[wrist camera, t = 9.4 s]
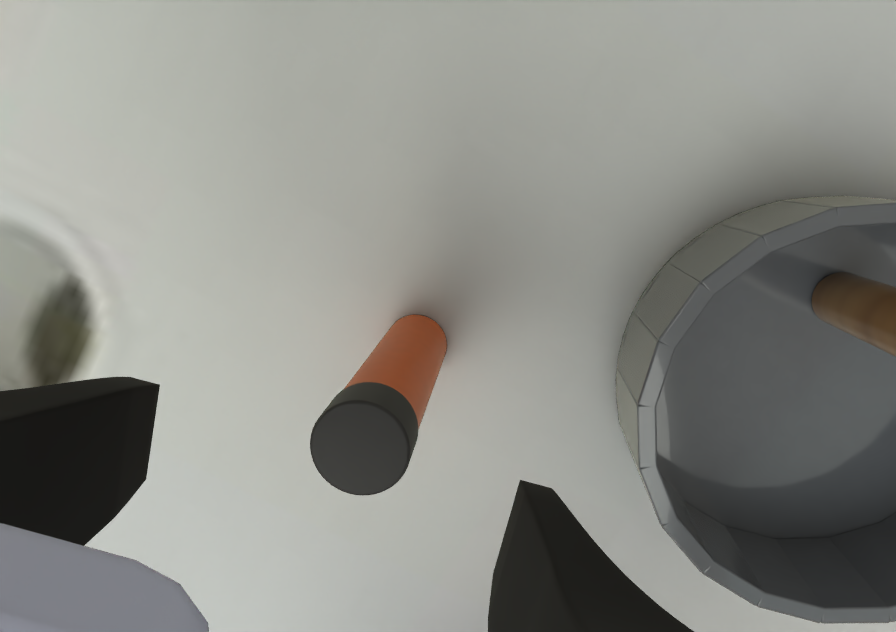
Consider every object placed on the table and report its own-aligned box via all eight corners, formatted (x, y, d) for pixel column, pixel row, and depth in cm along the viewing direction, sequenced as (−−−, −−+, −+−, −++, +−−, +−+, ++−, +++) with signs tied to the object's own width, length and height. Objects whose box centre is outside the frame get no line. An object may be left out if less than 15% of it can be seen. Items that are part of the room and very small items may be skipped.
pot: (910, 582, 22) (995, 670, 18) (573, 494, 23) (586, 562, 19) (1061, 248, 20) (1197, 268, 16) (677, 156, 20) (718, 153, 16)
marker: (440, 381, 22) (397, 507, 14) (379, 365, 22) (301, 482, 14) (455, 321, 22) (420, 415, 13) (392, 306, 22) (319, 389, 14)
